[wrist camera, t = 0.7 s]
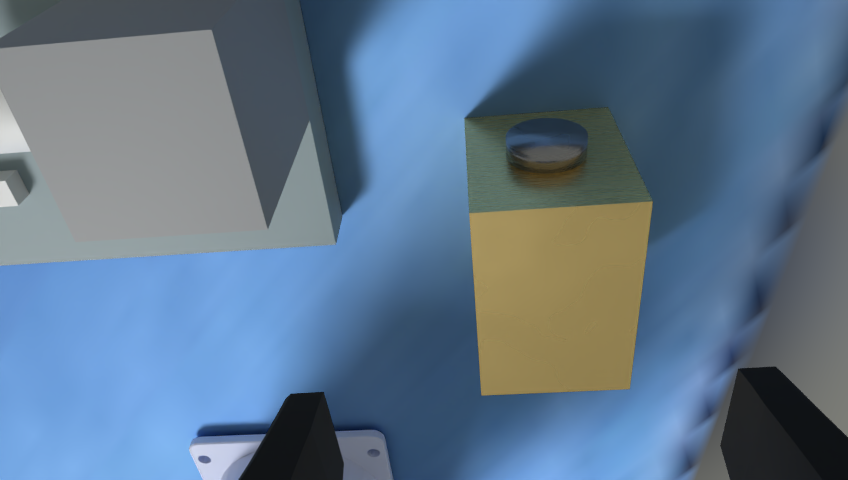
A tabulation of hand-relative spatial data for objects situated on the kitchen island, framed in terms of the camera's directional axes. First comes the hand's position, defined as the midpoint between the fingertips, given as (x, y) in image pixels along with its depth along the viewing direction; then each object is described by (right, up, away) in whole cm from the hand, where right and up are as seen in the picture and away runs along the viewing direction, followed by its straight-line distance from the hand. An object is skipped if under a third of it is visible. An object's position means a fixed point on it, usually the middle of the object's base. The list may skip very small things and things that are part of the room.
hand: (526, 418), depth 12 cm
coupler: (+2, +4, +9) cm, 10 cm away
